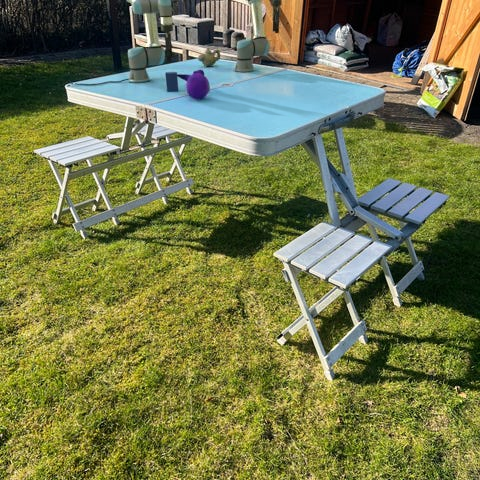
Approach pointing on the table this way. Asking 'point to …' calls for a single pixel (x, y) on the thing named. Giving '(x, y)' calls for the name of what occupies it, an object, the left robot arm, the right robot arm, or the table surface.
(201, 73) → the toy
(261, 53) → the right robot arm
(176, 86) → the brick
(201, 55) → the teapot
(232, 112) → the table surface
